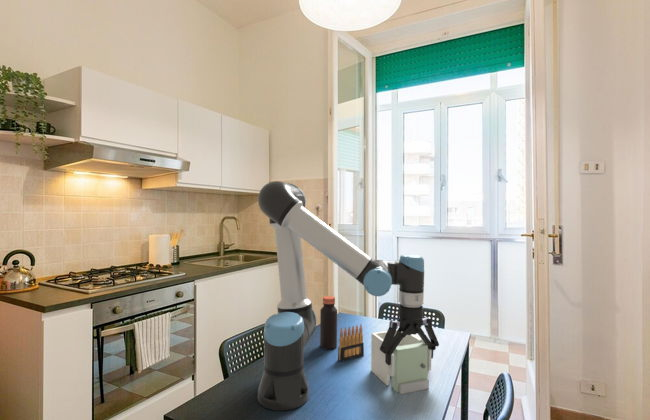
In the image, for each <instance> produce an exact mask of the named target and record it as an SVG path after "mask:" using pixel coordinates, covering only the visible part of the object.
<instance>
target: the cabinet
mask: <svg viewBox="0 0 650 420" xmlns="http://www.w3.org/2000/svg"><path fill="white" fill-rule="evenodd" d="M397 330H398V329H396V333H397ZM387 331H388V330H385V331H379V332H378V331H377V332H371V342H370V343H371V348H370V349H371V350H370V351H371V354H370V355H371V361H370V371H371V372H372V373H373V374H374V375H375V376H376V377H377V378H378V379H379V380H381V382H382V383H383V384H385V386H390V384H391V386H392V387H393V377H391V376H390V375H389V374H388V373H387V364H386V362H385V354H384V353H383V352H382V351H380V347H381V344H382V342H383V340H384V338H385V335H386V333H387ZM396 333H395V334H396ZM401 333H403V332H401ZM415 335H416V334H415ZM415 335H414V334H411V335H406V336H405V337H404V338H403V339H402V340H401V342H400V343H399V345H398V346H403V345H410V344H417V343H422V340H421V339H420V338H418V337H416V336H415ZM394 336H395V335H394ZM392 354H393V353H392ZM390 382H391V383H390ZM429 382H430V381H429V380H428V378H427V379H425V380H420V381H415V382H409V383H404V384H399V392H398V393H399V394H401V395H404V394H409V393H413V392H419V391H425V390H428V389H430V388H429V387H430V383H429Z"/></svg>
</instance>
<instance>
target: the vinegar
mask: <svg viewBox="0 0 650 420" xmlns="http://www.w3.org/2000/svg"><path fill="white" fill-rule="evenodd" d="M335 304H336V296H333V295H326V296H322V305H323V306H322V307H321V308H320V311H319V313H320V317H319V320H320V321H319V323H320V324H319V327H320V328H319V329H320V332H319V333H320V334H319V335H320V336H319V339H320V340H319V343H320V344H319V347H320V348H321V349H323V350H327V351H328V350H334V349H336V348H337V346H338V308H336V306H335Z"/></svg>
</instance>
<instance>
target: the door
mask: <svg viewBox="0 0 650 420" xmlns="http://www.w3.org/2000/svg"><path fill="white" fill-rule="evenodd" d="M393 354H394V376H393V377H392V378H393V386H392V389H393V390H394V391H395V392H396V393H399V384H404V383H409V382H415V381H420V380H425V379H427V380H428V370H427V362H428V345H426V344H424V343H417V344H410V345H403V346H397V347H396V349H395V350H394V352H393Z"/></svg>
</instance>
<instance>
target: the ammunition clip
mask: <svg viewBox="0 0 650 420" xmlns="http://www.w3.org/2000/svg"><path fill="white" fill-rule="evenodd" d="M364 343H365V342H364V336H363V326H362V324H360V325H358V324H356V325H355V326H354V325H353V326H352V328H351V326H348V329H347V327H345V328H344V329H343V328H342V327H341V328H340V332H339V340H338V351H337V352H338V353H337V361H339V362H347V361H350V360H354V359H358V358H362V357H364V355H365V351H364V347H365V346H364Z"/></svg>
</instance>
